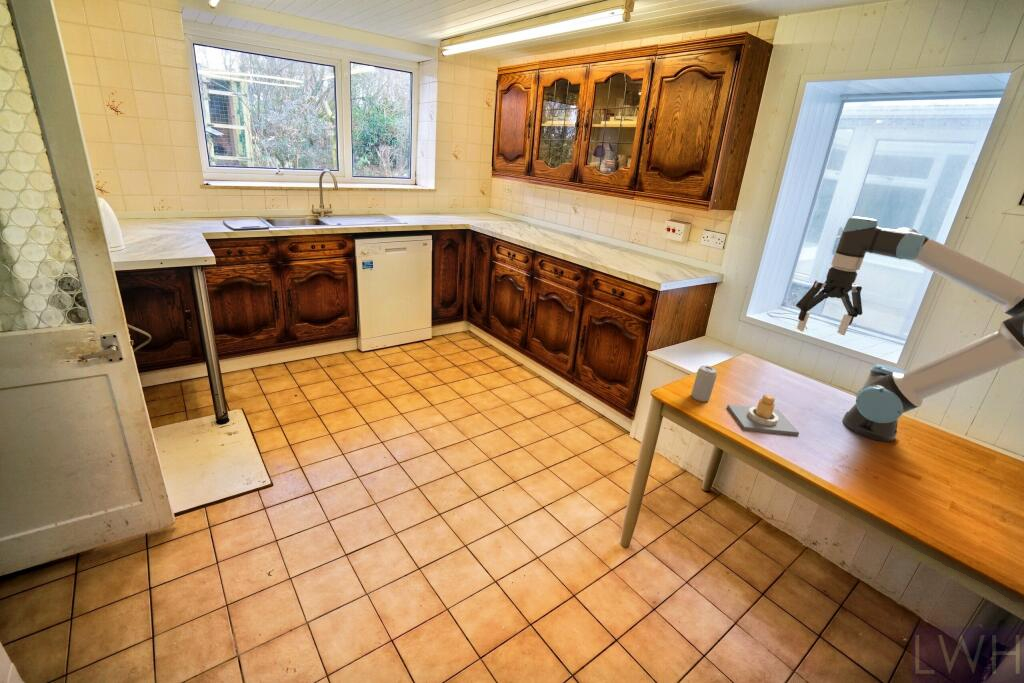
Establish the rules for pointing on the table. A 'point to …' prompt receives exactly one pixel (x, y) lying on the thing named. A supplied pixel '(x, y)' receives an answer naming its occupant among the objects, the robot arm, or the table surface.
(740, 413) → the collar board
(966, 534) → the table surface
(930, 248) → the robot arm
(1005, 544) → the table surface
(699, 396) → the beverage can
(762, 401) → the nesting doll
